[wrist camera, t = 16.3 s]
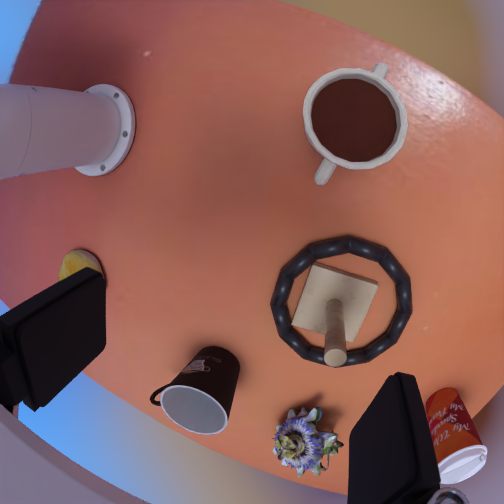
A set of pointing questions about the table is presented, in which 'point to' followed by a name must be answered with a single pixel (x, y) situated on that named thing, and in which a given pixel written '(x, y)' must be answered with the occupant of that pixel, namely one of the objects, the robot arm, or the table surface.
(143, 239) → the table surface
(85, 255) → the bread roll
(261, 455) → the table surface
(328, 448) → the passion flower
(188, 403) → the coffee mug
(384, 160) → the white handled cup
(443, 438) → the paper cup
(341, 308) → the post
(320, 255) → the ring
